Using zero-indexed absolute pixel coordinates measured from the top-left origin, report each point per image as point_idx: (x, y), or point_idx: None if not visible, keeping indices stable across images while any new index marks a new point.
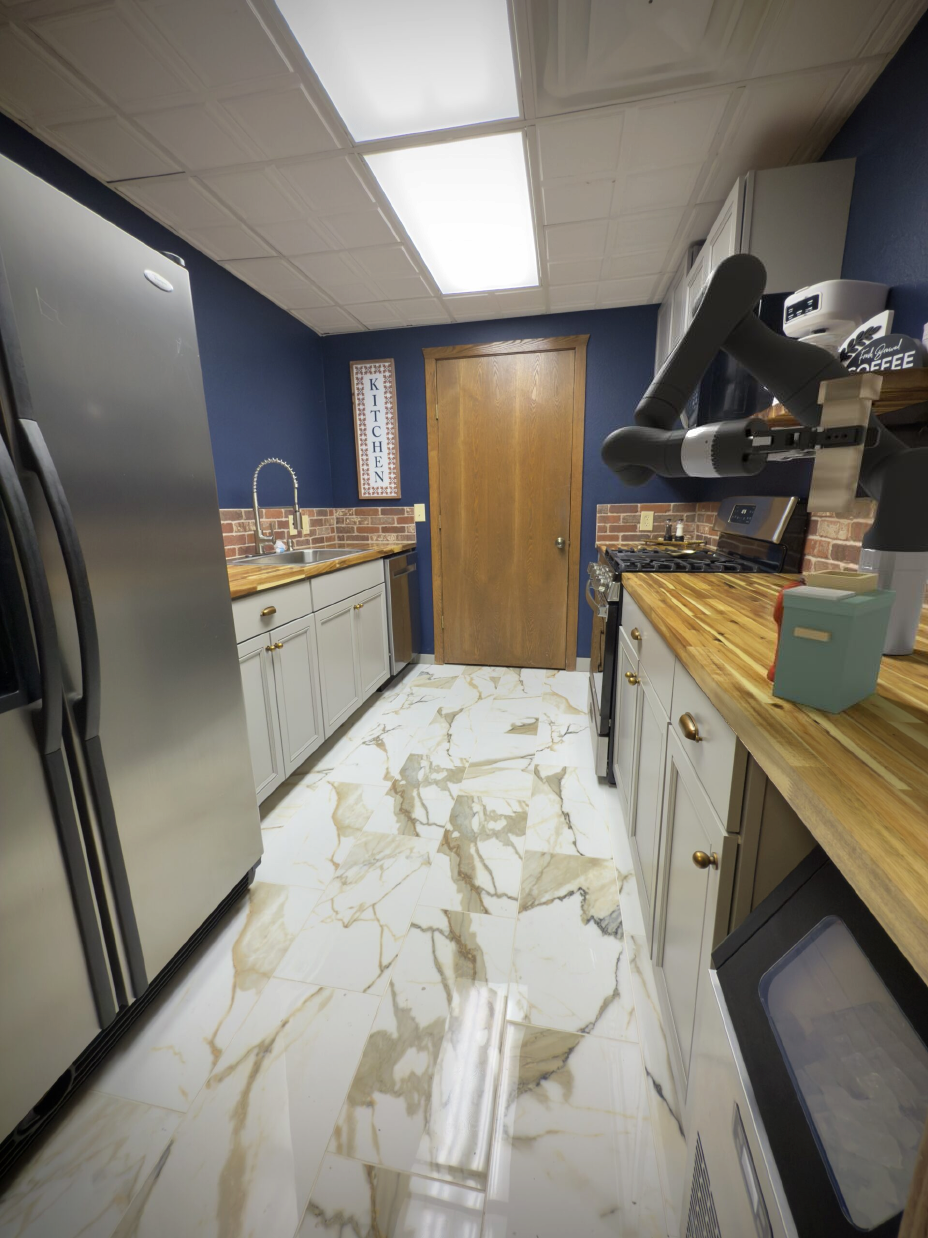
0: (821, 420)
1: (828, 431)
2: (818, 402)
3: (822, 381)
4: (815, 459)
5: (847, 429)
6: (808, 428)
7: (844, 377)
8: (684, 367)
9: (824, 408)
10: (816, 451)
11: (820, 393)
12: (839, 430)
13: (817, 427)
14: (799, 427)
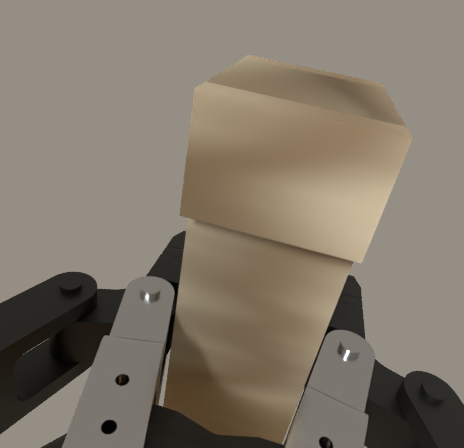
0: (330, 317)
1: (363, 335)
2: (363, 256)
3: (409, 136)
4: (282, 434)
5: (358, 292)
6: (445, 387)
7: (393, 105)
8: None
9: (348, 267)
10: (290, 414)
11: (382, 209)
12: (361, 309)
13: (357, 353)
14: (363, 422)
